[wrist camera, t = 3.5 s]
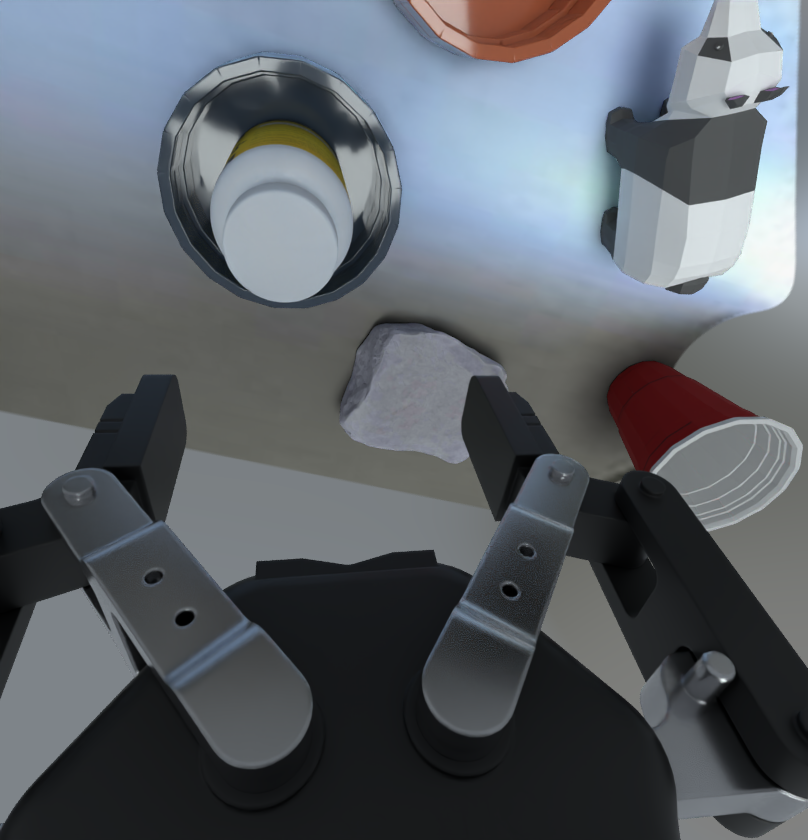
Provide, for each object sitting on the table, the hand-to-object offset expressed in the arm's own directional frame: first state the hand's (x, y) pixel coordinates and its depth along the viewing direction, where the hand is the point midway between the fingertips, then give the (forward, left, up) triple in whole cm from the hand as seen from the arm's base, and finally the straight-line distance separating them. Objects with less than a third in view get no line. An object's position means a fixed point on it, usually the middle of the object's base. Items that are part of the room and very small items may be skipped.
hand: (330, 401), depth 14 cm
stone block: (+8, -13, -22) cm, 27 cm away
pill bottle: (-2, +1, -21) cm, 21 cm away
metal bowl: (-2, +1, -21) cm, 21 cm away
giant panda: (+20, +4, -22) cm, 30 cm away
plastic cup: (+27, -14, -22) cm, 38 cm away
